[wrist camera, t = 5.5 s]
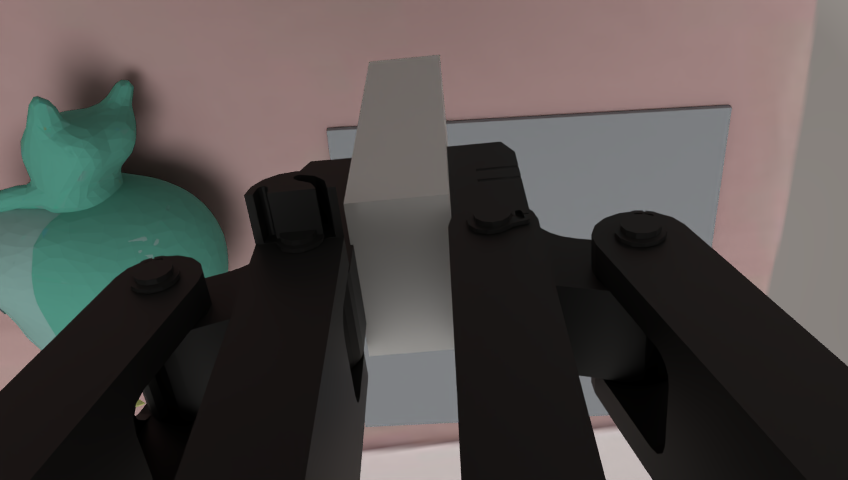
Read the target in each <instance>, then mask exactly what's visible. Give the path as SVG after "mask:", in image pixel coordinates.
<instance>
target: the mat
mask: <svg viewBox="0 0 848 480" xmlns="http://www.w3.org/2000/svg"><path fill="white" fill-rule="evenodd" d="M731 110H732V107H731V106H730V105H721V106H703V107H686V108H669V109H652V110H634V111H617V112H600V113H582V114H565V115H548V116H530V117H513V118H496V119H479V120H461V121H446V128H447V138H448V146H458V145H469V144H479V143H490V142H500V141H501V142H502V143H504V144H505V145H506V146H508V147H509V148H510V149H512V150H513V151H515V154H516V158H517V162H518V167H519V170H520V174H521V178H522V182H523V186H524V190H525V194H526V198H527V202H528V206H529V209H530V210H532V211H533V212H534V213H535V215H536V216H537V218H538V219H539V223H540V227H541V228H542V229H544V230H546V231H548V232H550V233H553V234H556V235H560V236H564V237H571V238H578V239H590V240H591V234H592V231H593V229H594V226H595V225H596V224H597V223H598V222H600V221H601V220H602V219H604V218H606V217H609V216H612V215H615V214H618V213H623V212H631V211H634V210H643V211H644V212H645V210H646V211H654V212H656V213H660V214H663V215H667V216H671V217H673V218H675V219H677V220H678V221H680V222H682V223H683V224H685V225H686V226H687V227H688V228H690V229H691V230H692V231H693V232H694V233H695V234H697V235H698V236H699V237H700V238H701V239H702V240H703V241H705V242H706V243H707V244H708V245H709V246H710V247H711V248H712V241H713V234H714V227H715V220H716V213H717V206H718V200H719V193H720V186H721V179H722V172H723V165H724V158H725V151H726V144H727V137H728V130H729V123H730V116H731ZM357 127H358V126H357ZM357 127H340V128H327V137H328V145H329V152H330V160H333V159H343V158H352V154H353V149H354V143H355V138H356V132H357ZM364 354H365V360H366V366H367V371H368V387H367V399H366V411H365V426H366V427H373V426H394V425H415V424H436V423H457V422H458V405H457V386H456V368H455V349H452V350H440V351H428V352H416V353H404V354H391V355H379V356H369V351H368V345H367V340H366V335H365V345H364ZM579 378H580V382H581V386H582V390H583V394H584V398H585V401H586V405H587V409H588V413H589V416H603V415H609V414H608V412H607V411H606V409H605V408H604V406H603V405H602V403H601V402H600V400H599V399H598V397H597V396H596V394H595V392H594V389H593V386H592V383H591V377H585V376H579Z"/></svg>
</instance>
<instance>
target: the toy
mask: <svg viewBox="0 0 848 480" xmlns="http://www.w3.org/2000/svg"><path fill="white" fill-rule="evenodd" d="M133 89H134V87H133V85H132V84H131V83H130V82H129V80H120V81H119V82H117V83H116V84H115V85H114V87H113V88H112V90H111V91H110V93H109V94H108V96H107V97H106V98H105V99H104V100H102V101H101V102H100V103H99V104H96V105H94V106H91V107H89V108H84V109H77V110H70V111H64V112H60V113H59V112H58V110H57V109H56V107H55V106H54V105H53V104H52V103H51V102H50V101H49V100H46V99H43V98H41V97H38V96H37V97H33V99H32V101H31V102H30V104H29V108H28V115H27V123H26V129H25V131H24V134H23V137H22V139H21V154H22V159H23V162H24V164H25V167H26V169H27V171H28V174H29V176H30V178H31V181H30V183H28V184H27V185H19V186H14V187H10V188H7V189H3V190H0V310H1V311H2V312H3V313H5V314H7V315H8V316H9V317H10V318H11V319H12V320H13V321H14V322H15V323H16V324H17V325H18V326H19V328H20V329H21V330H22V332H23V333H24V334H25V335H26V337H27V338H28V339H29V340H30V341H31V342H32V343H34V344H35V345H36V346H37V347H38V348H40V349H41V350H43V349H44V348H45V347H46V346H47V345H48V344H49V343H50V342H51V341H52V340H53V339H54V338H55V337H56V336H57V335H58V334H59V333H60V332H61V331H62V330H63V329H64V328H65V327H66V326H67V325H68V324H69V323H70V322H71V321H72V320H73V319H74V318H75V317H76V316H77V315H78V314H79V313H80V312H81V311H82V310H83V309H84V308H85V307H86V306H87V305H88V304H89V303H90V302H91V301H92V300H93V299H94V298H95V297H96V296H97V295H98V294H99V293H100V292H101V291H102V290H103V289H104V288H105V287H106V286H107V285H108V284H109V283H110V282H111V281H112V280H113V279H114V278H115V277H117V276H118V275H119V274H121V273H122V272H123V271H125V270H126V269H127V268H130V267H132V266H134V265H136V264H138V263H140V262H141V261H143V260H146V259H149V258H152V259H154V257H157V256H175V255H180V256H185V257H191V258H193V259H195V260H196V261H198V262H199V263H201V266H202V269H203V273H204V277H205V278H207V277H211V276H214V275H218V274H222V273H226V272H228V253H227V246H226V242H225V237H224V234H223V232H222V230H221V227H220V226H219V224H218V222H217V220H216V218H215V217H214V216H213V214H212V213H211V211H210V210H209V209H208V208H207V207H206V206H205V205H204V203H202V202H201V201H200V200H199V199H198V198H196V197H195V196H194V195H193V194H191V193H189V192H188V191H186V190H184V189H183V188H181V187H179V186H176V185H174V184H171V183H169V182H166V181H163V180H160V179H157V178H152V177H148V176H141V175H135V174H128V173H121V167H122V165H123V163H124V162H125V161H126V160H127V158H128V157H129V156H130V154H131V153H132V151H133V148H134V145H135V140H136V121H135V117H134V112H133V108H132V98H133ZM143 404H145V403H144V402H142V401H141V400H139V399H138V401H137V403H136V407H138V406H141V405H143Z"/></svg>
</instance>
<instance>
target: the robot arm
mask: <svg viewBox="0 0 848 480" xmlns="http://www.w3.org/2000/svg"><path fill="white" fill-rule="evenodd" d="M244 197H245V201H246V205H247V209H248V214H249V218H250V222H251V226H252V231H253V235H254V239H255V243H256V246H255V249H254V252H253V255H252V258H251V260H250V263H249V264H248V265H246V266H244V267H242V268H239V269H236V270H232V271H229V272H226V273H222V274H218V275H214V276H211V277H207V278H205V277H204V273H203V269H202V266H201V263H199V262H198V261H196V260H195V259H193V258H191V257H185V256H180V255H175V256H157V257H154V259H152V258H149V259H146V260H143V261H141V262H140V263H138V264H136V265H134V266H132V267H130V268H127V269H126V270H125V271H123V272H122V273H121V274H119V275H118V276H117V277H115V278H114V279H113V280H112V281H111V282H110V283H109V284H108V285H107V286H106V287H105V288H104V289H103V290H102V291H101V292H100V293H99V294H98V295H97V296H96V297H95V298H94V299H93V300H92V301H91V302H90V303H89V304H88V305H87V306H86V307H85V308H84V309H83V310H82V311H81V312H80V313H79V314H78V315H77V316H76V317H75V318H74V319H73V320H72V321H71V322H70V323H69V324H68V325H67V326H66V327H65V328H64V329H63V330H62V331H61V332H60V333H59V334H58V335H57V336H56V337H55V338H54V339H53V340H52V341H51V342H50V343H49V344H48V345H47V346H46V347H45V348H44V349H43V350H42V351H41V352H40V353H39V354H38V355H37V356H36V357H35V358H34V359H32V360H31V361H30V362H29V363H28V364H27V365H26V366H25V367H24V368H23V369H22V370H21V371H20V372H19V373H18V374H17V375H16V376H15V377H14V378H13V379H12V380H11V381H10V382H9V383H8V384H7V385H6V386H5V387H4V388H3V389H2V390H1V391H0V480H360V471H361V459H362V447H363V435H364V423H365V411H366V399H367V387H368V371H367V366H366V360H365V354H364V345H365V335H366V340H367V345H368V351H369V356H379V355H391V354H404V353H416V352H428V351H440V350H452V349H455V368H456V386H457V405H458V424H459V443H460V462H461V480H606V479H605V475H604V471H603V467H602V463H601V460H600V456H599V452H598V448H597V444H596V440H595V436H594V432H593V429H592V425H591V421H590V417H589V413H588V409H587V405H586V401H585V398H584V394H583V390H582V386H581V382H580V378H579V376H585V377H591V383H592V386H593V389H594V392H595V394H596V396H597V397H598V399H599V400H600V402H601V403H602V405H603V406H604V408H605V409H606V411H607V412H608V414H609V415H610V417H611V418H612V420H613V421H614V423H615V424H616V426H617V427H618V429H619V430H620V432H621V433H622V435H623V436H624V438H625V439H626V441H627V442H628V444H629V445H630V447H631V448H632V450H633V451H634V453H635V454H636V456H637V457H638V459H639V460H640V462H641V463H642V465H643V466H644V468H645V469H646V471H647V472H648V473H649V475H650V476H651V478H652V479H653V480H848V366H846V365H845V363H843V362H842V361H841V360H840V359H839V358H838V357H836V356H835V355H834V354H833V353H832V352H831V351H830V350H828V349H827V348H826V347H825V346H824V345H823V344H822V343H820V342H819V341H818V340H817V339H816V338H815V337H814V336H812V335H811V334H810V333H809V332H808V331H807V330H806V329H804V328H803V327H802V326H801V325H800V324H799V323H797V322H796V321H795V320H794V319H793V318H792V317H791V316H789V315H788V314H787V313H786V312H785V311H784V310H783V309H781V308H780V307H779V306H778V305H777V304H776V303H775V302H773V301H772V300H771V299H770V298H769V297H768V296H766V295H765V294H764V293H763V292H762V291H761V290H760V289H758V288H757V287H756V286H755V285H754V284H753V283H752V282H750V281H749V280H748V279H747V278H746V277H745V276H744V275H742V274H741V273H740V272H739V271H738V270H737V269H736V268H734V267H733V266H732V265H731V264H730V263H729V262H727V261H726V260H725V259H724V258H723V257H722V256H721V255H719V254H718V253H717V252H716V251H715V250H714V249H713V248H711V247H710V246H709V245H708V244H707V243H706V242H705V241H703V240H702V239H701V238H700V237H699V236H698V235H697V234H695V233H694V232H693V231H692V230H691V229H690V228H688V227H687V226H686V225H685V224H683V223H682V222H680V221H678V220H677V219H675V218H673V217H671V216H667V215H663V214H660V213H656V212H654V211H646V210H645V212H644V211H643V210H634V211H631V212H623V213H618V214H615V215H612V216H609V217H606V218H604V219H602V220H601V221H600V222H598V223H597V224H596V225H595V226H594V229H593V231H592V234H591V240H590V239H578V238H571V237H564V236H560V235H556V234H553V233H550V232H548V231H546V230H544V229H542V228H541V227H540V223H539V219H538V218H537V216H536V215H535V213H534V212H533V211H532V210H530V209H529V206H528V202H527V198H526V194H525V190H524V186H523V182H522V178H521V174H520V170H519V167H518V162H517V158H516V154H515V151H513V150H512V149H510V148H509V147H508V146H506V145H505V144H504V143H502V142H501V141H500V142H490V143H479V144H469V145H458V146H448V138H447V128H446V117H445V106H444V96H443V85H442V74H441V64H440V55H432V56H422V57H412V58H402V59H392V60H382V61H372V62H369V66H368V72H367V77H366V83H365V88H364V94H363V99H362V105H361V110H360V116H359V121H358V127H357V132H356V138H355V143H354V149H353V154H352V158H343V159H333V160H322V161H312V162H310V163H308V164H307V165H306V166H305V167H304V168H303V169H302V170H300V171H295V172H290V173H284V174H278V175H276V176H273V177H270V178H267V179H264V180H262V181H260V182H259V183H257V184H255V185H254V186H252V187H251V188H250V189H249V190H248V191H247V192H246V194H245V195H244ZM142 392H143V395H144V397H145V400H146V403H147V404H146V405H145V406H144V408H143V409H142V410H141V412H140V413H139V414H138V415H136V416H135V415H134V414H135V408H136V403H137V401H138V399H139V397H140V396H141V394H142Z"/></svg>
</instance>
